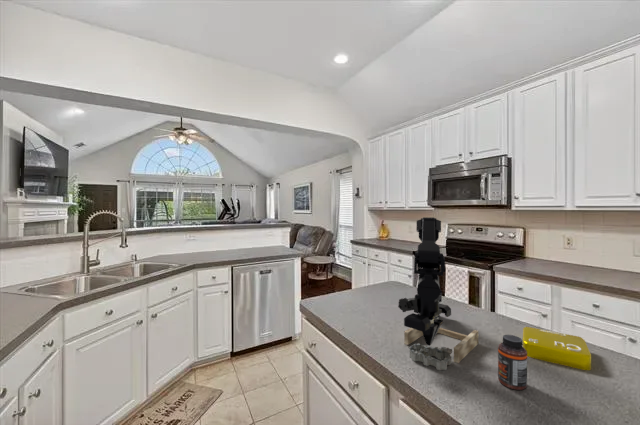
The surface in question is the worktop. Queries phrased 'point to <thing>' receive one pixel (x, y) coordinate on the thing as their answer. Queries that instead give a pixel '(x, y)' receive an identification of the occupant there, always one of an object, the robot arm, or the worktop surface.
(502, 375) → the supplement bottle
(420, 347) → the egg carton
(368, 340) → the worktop surface
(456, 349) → the open wooden frame
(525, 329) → the element tile
